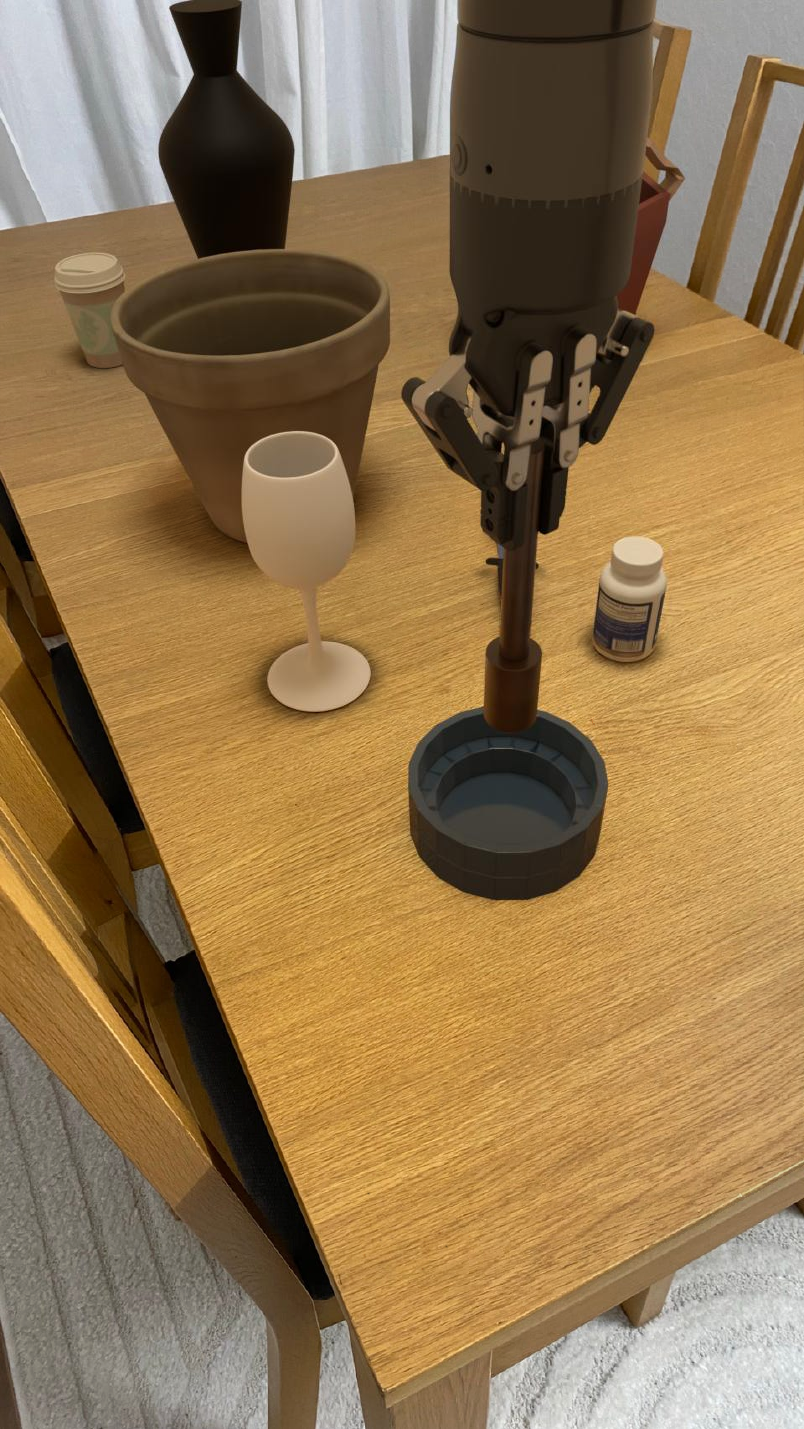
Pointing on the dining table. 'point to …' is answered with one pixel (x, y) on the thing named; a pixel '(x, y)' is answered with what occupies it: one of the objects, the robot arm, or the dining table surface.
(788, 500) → the dining table surface
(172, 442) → the flower pot
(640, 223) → the bucket
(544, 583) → the dining table surface
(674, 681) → the dining table surface
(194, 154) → the vase
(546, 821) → the bowl
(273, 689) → the wineglass
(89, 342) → the coffee cup
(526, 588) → the muddler
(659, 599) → the pill bottle
